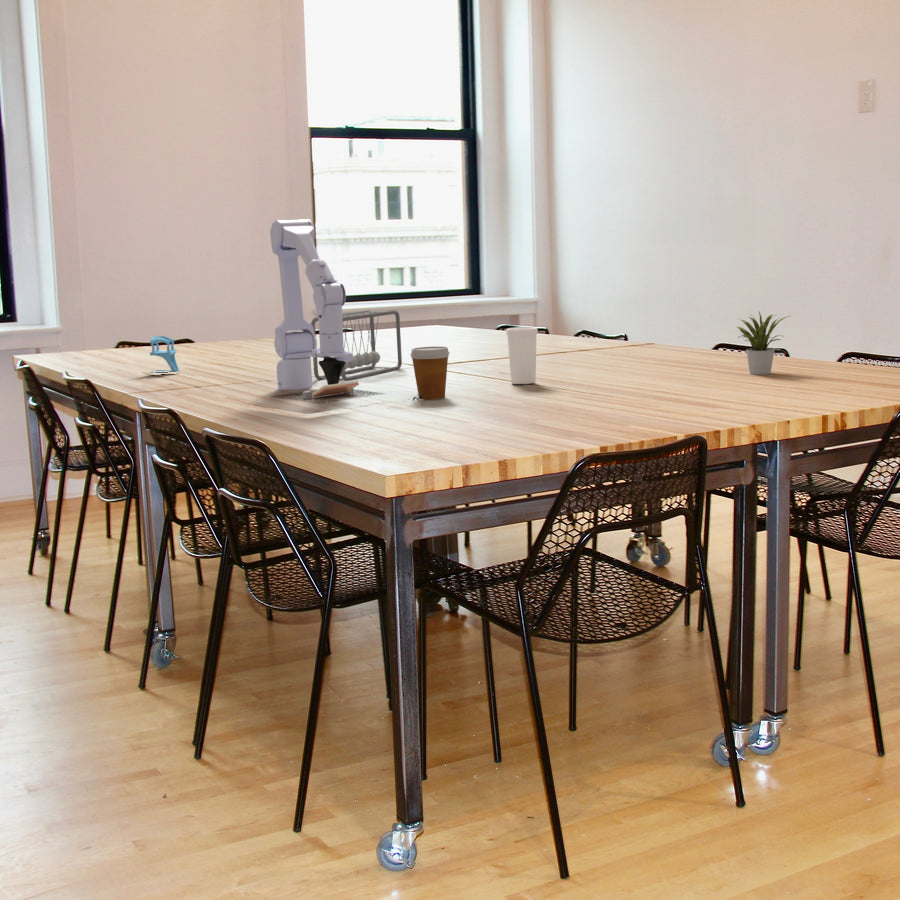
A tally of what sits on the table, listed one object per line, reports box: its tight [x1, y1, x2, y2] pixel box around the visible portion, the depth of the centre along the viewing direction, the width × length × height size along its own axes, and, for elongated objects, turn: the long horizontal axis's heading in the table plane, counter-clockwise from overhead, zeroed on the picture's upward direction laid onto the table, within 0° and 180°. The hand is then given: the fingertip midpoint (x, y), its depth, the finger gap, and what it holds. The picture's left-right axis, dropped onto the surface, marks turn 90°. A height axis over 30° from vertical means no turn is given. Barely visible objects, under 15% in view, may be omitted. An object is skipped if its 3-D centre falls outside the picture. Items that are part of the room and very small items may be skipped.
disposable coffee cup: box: [409, 345, 450, 401], centre depth 266 cm, size 10×10×12 cm
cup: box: [506, 326, 539, 385], centre depth 284 cm, size 8×8×14 cm
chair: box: [149, 335, 180, 373], centre depth 343 cm, size 8×8×12 cm
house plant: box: [736, 311, 791, 376], centre depth 285 cm, size 14×14×16 cm
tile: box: [312, 380, 360, 399], centre depth 270 cm, size 1×10×6 cm
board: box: [270, 388, 386, 404], centre depth 273 cm, size 22×20×3 cm
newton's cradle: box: [310, 309, 403, 382], centre depth 320 cm, size 30×10×18 cm, turn 150°
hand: (333, 388), depth 270 cm, fingers closed, pressing on tile
